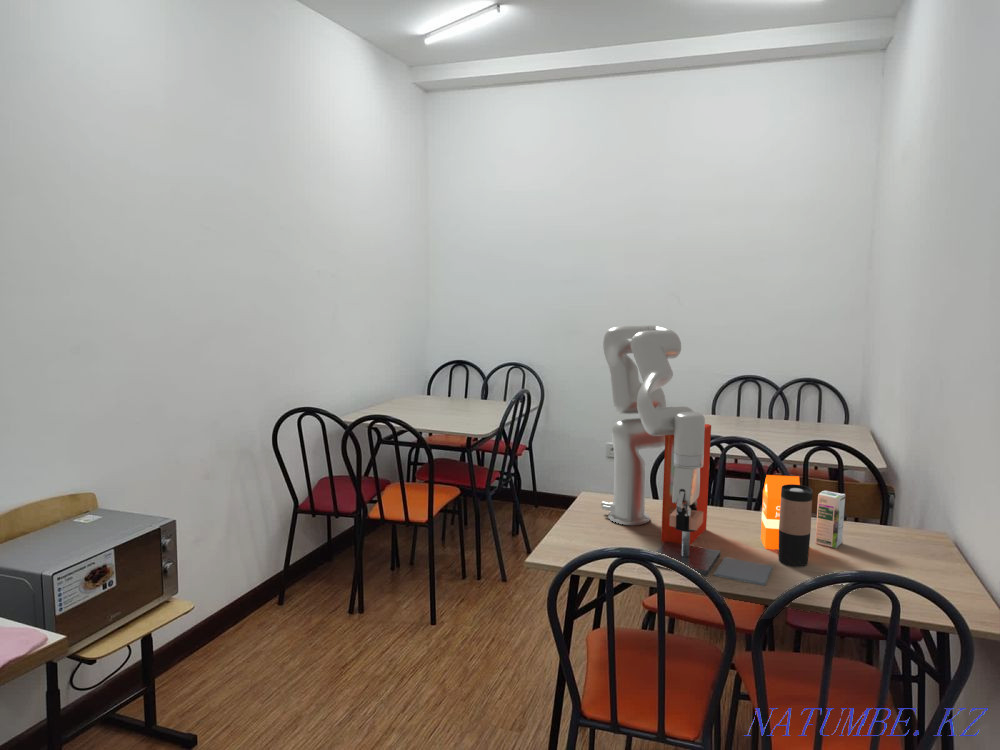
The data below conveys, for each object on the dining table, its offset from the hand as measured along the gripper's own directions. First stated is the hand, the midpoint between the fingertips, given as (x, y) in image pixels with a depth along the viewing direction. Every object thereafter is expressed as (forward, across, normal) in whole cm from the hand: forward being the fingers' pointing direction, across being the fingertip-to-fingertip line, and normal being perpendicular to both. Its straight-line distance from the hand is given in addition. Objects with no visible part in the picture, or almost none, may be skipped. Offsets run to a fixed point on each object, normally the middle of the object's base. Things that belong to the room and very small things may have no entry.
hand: (686, 525), depth 185 cm
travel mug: (+10, -13, +25) cm, 30 cm away
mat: (+10, 0, +15) cm, 18 cm away
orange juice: (+10, -24, +20) cm, 33 cm away
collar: (0, 0, 0) cm, 0 cm away
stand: (+10, 0, 0) cm, 10 cm away
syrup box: (+10, -32, +32) cm, 46 cm away
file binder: (+10, -18, -5) cm, 21 cm away
